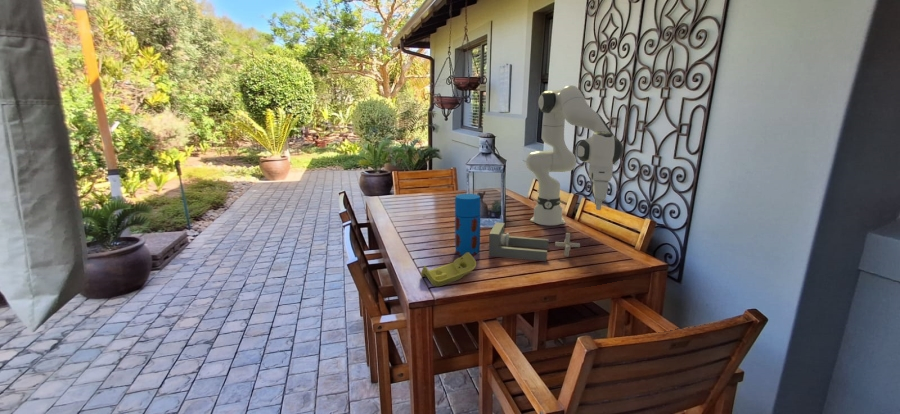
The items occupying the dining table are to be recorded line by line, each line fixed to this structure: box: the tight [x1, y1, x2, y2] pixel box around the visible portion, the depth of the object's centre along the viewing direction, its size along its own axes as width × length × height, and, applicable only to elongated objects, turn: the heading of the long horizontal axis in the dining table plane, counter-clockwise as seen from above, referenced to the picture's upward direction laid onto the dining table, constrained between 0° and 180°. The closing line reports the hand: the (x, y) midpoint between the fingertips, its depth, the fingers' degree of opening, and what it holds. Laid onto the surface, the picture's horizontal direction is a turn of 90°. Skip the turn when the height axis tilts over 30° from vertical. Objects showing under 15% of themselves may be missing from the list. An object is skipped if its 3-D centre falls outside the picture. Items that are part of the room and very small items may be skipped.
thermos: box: [454, 193, 482, 257], centre depth 172 cm, size 11×11×25 cm
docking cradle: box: [488, 222, 549, 262], centre depth 173 cm, size 17×24×10 cm
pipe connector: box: [554, 232, 581, 258], centre depth 168 cm, size 10×10×10 cm
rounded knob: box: [501, 232, 510, 247], centre depth 176 cm, size 6×7×6 cm
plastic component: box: [420, 252, 477, 287], centre depth 149 cm, size 20×7×10 cm
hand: (597, 207), depth 161 cm, fingers open, 8 cm apart
